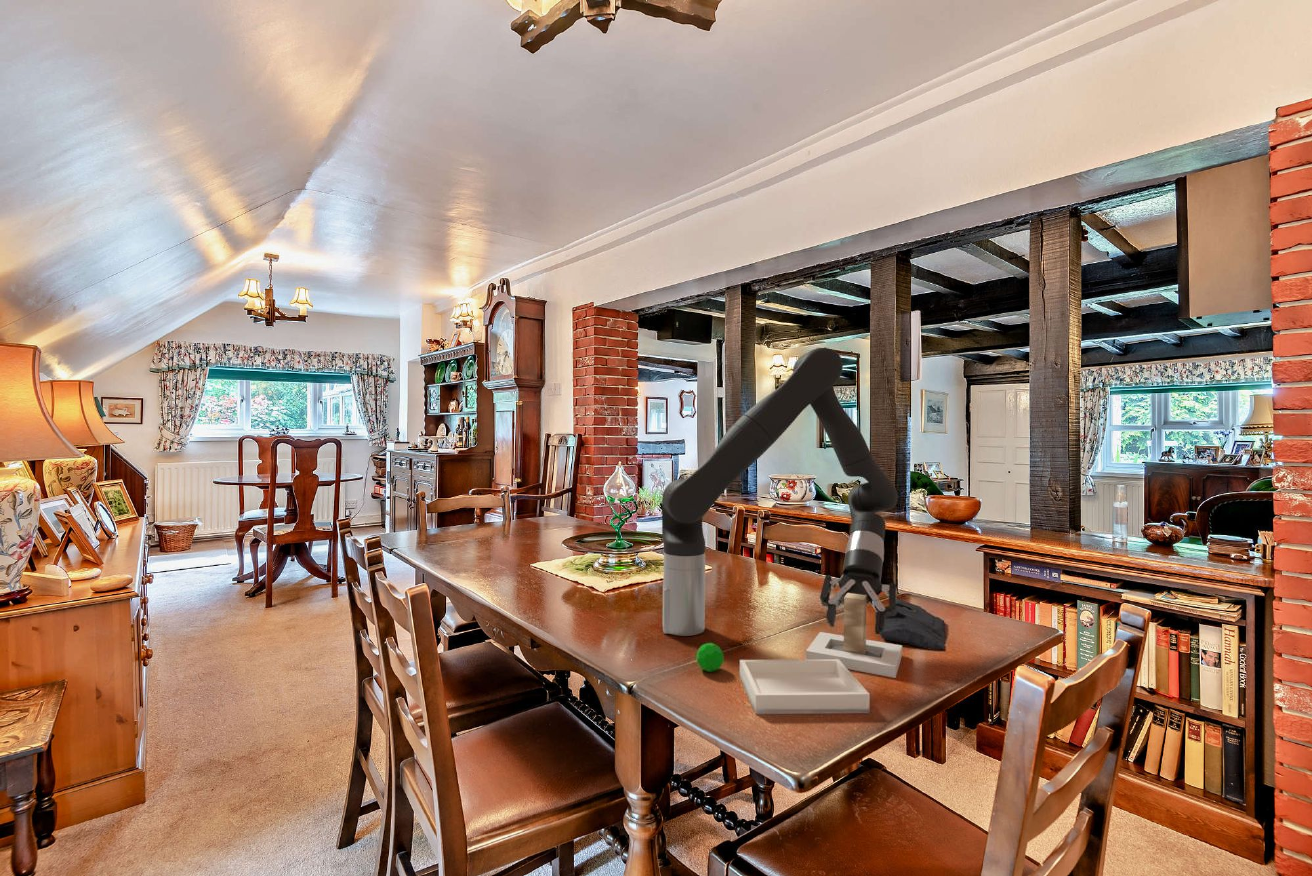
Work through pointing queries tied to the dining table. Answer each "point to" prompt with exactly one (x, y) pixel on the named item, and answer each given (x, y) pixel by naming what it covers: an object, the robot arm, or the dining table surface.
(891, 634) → the dark slate chunk
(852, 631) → the wooden post on base
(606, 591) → the dining table surface
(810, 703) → the tray
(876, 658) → the slot plate
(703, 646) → the polyhedron
